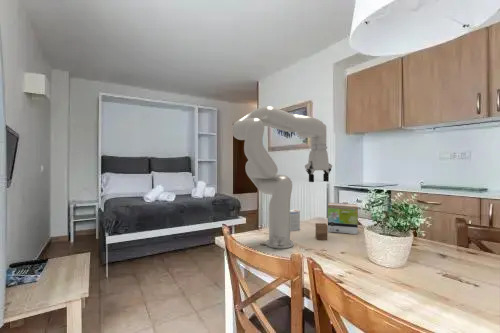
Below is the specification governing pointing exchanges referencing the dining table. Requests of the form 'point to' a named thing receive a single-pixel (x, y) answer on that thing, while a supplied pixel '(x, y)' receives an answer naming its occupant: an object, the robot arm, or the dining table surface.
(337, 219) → the tea box
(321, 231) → the walnut block
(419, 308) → the dining table surface
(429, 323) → the dining table surface
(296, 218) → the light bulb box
